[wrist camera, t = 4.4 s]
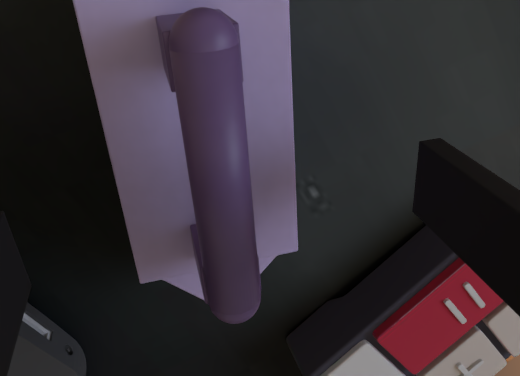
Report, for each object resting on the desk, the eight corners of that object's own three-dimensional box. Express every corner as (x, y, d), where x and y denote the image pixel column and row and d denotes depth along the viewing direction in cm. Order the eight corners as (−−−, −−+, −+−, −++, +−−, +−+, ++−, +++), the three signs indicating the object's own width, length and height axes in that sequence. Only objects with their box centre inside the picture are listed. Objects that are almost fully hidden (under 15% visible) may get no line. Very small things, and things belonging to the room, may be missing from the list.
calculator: (585, 311, 30) (403, 461, 32) (532, 272, 34) (371, 407, 35) (525, 207, 25) (308, 393, 26) (470, 174, 29) (282, 338, 30)
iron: (81, -32, 18) (49, -6, 10) (247, -47, 20) (336, -34, 11) (148, 269, 25) (162, 428, 17) (268, 245, 27) (333, 382, 18)
